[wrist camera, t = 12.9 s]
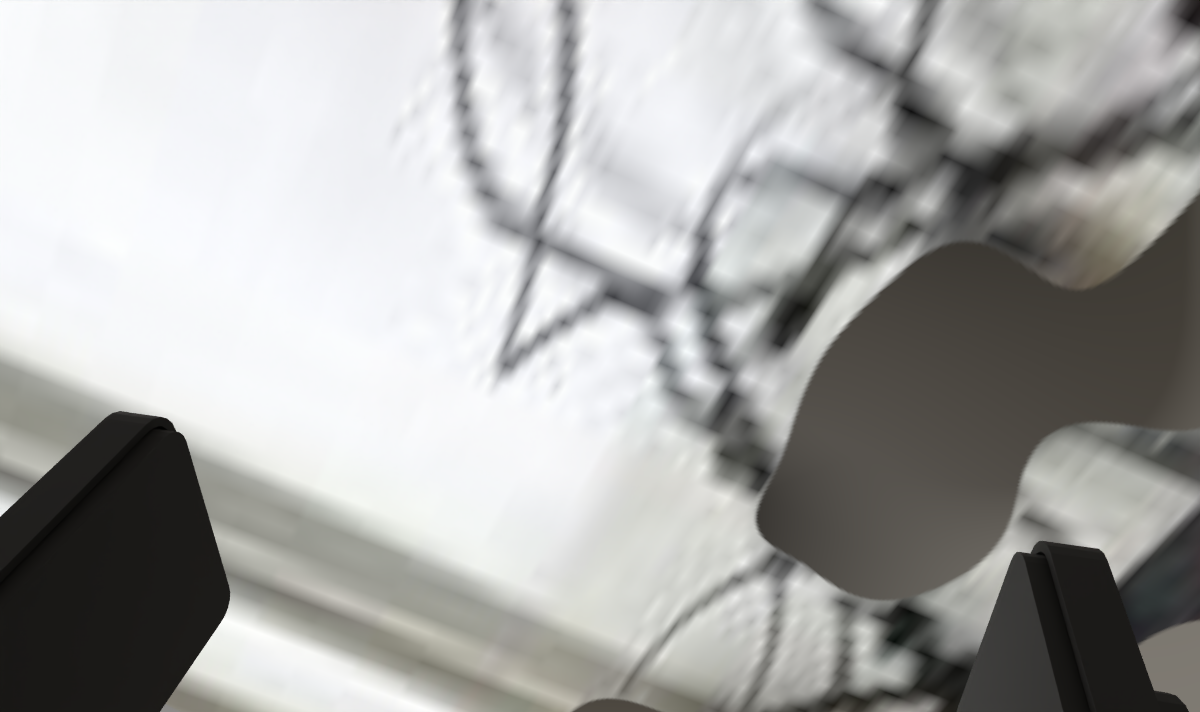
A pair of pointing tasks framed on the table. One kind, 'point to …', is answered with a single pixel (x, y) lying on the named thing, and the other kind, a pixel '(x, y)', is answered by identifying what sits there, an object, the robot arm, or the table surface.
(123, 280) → the table surface
